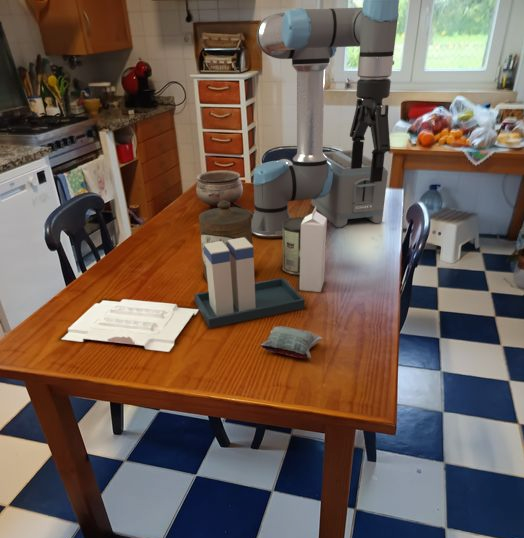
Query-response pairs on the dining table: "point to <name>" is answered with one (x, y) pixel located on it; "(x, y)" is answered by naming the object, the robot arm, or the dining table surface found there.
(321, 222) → the milk
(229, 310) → the carton
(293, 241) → the coffee can
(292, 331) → the packaged food
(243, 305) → the carton
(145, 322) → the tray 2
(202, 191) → the cooking pot
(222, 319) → the tray
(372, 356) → the dining table surface
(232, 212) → the wooden container
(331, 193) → the toaster
